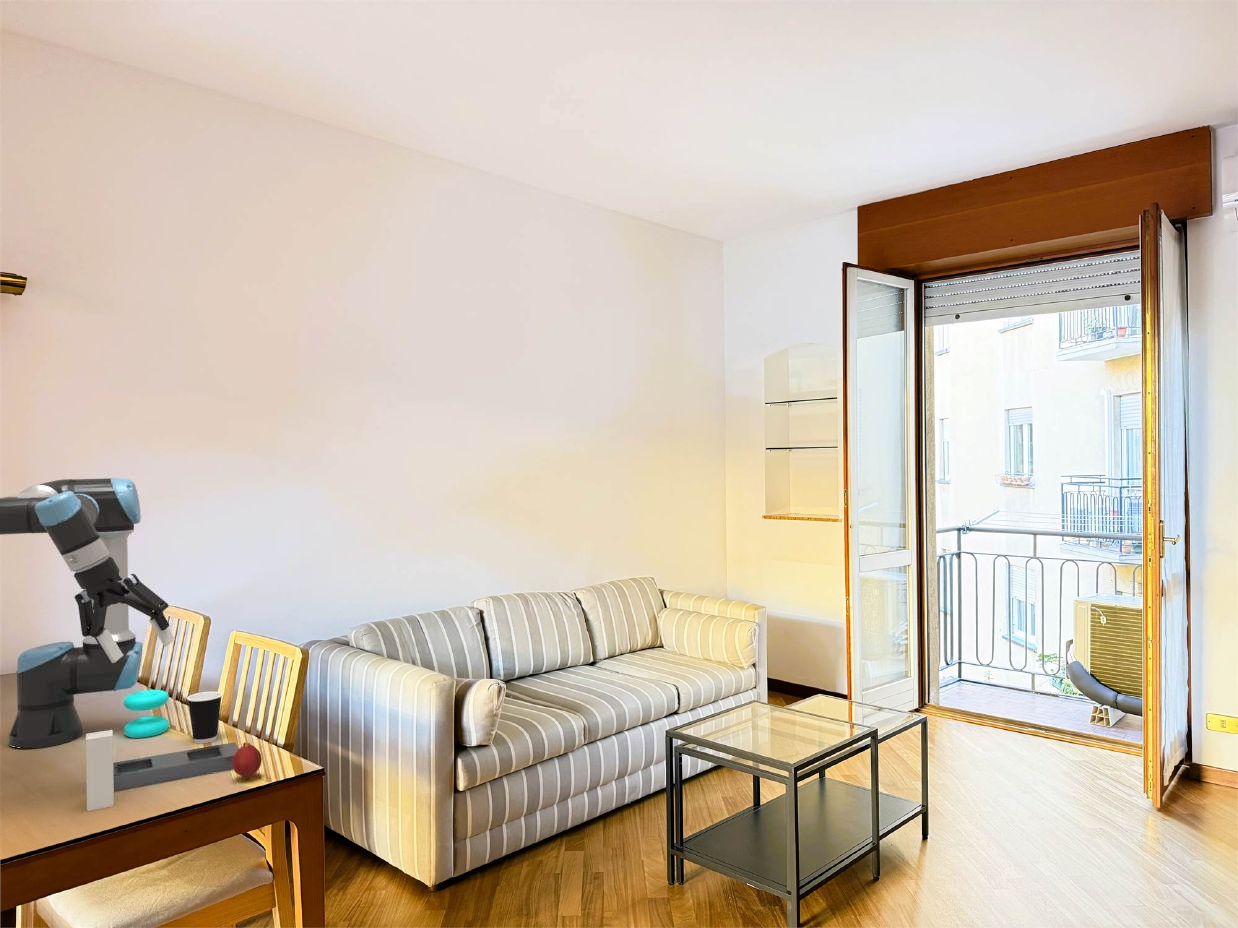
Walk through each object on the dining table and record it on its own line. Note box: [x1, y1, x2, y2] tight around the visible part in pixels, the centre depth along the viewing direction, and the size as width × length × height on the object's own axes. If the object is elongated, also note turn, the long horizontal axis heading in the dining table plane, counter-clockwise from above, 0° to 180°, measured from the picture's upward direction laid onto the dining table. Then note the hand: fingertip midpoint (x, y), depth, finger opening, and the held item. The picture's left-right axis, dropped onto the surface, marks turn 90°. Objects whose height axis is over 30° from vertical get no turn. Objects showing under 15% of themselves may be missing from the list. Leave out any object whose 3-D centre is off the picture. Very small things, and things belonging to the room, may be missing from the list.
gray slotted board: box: [113, 741, 240, 792], centre depth 185 cm, size 28×10×3 cm, turn 122°
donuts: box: [123, 689, 170, 739], centre depth 214 cm, size 10×10×10 cm
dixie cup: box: [186, 691, 223, 744], centre depth 208 cm, size 8×8×11 cm
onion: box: [232, 741, 263, 780], centre depth 181 cm, size 6×6×8 cm
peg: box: [85, 729, 115, 812], centre depth 168 cm, size 4×4×14 cm
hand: (143, 651), depth 178 cm, fingers open, 13 cm apart
